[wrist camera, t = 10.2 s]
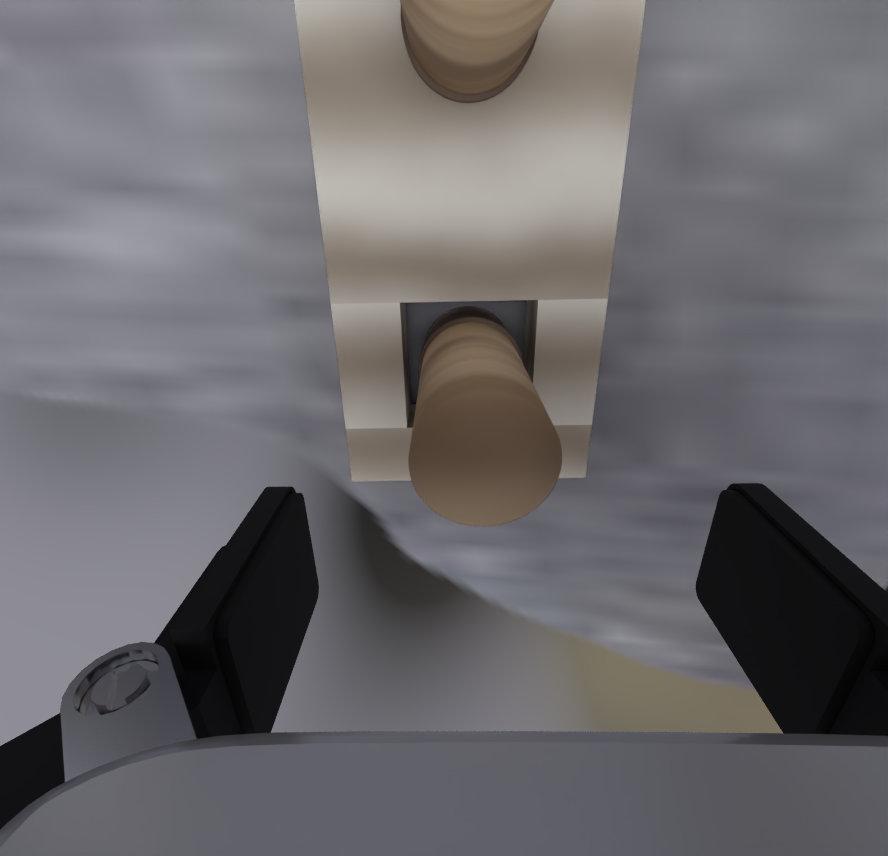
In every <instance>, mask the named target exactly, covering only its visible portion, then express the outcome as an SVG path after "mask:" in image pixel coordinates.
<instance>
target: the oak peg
mask: <svg viewBox="0 0 888 856" xmlns="http://www.w3.org/2000/svg"><path fill="white" fill-rule="evenodd" d="M418 373H419V380H420V382H419V389H418V396H417V403H416V409H415V416H414V423H413V429H412V436H411V443H410V450H409V456H408V466H409V474H410V477H411V481H412V483H413V485H414V488H415V490H416V491H417V493H418V495H419V496H420V498H421V499H422V500H423V501H424V502H425V503H426V504H427V505H428V506H429V507H430V508H431V509H432V510H433V511H435V512H436V513H438V514H439V515H441V516H443V517H445V518H447V519H449V520H451V521H454V522H457V523H460V524H464V525H470V526H495V525H501V524H505V523H508V522H512V521H514V520H517V519H519V518H521V517H523V516H525V515H527V514H529V513H530V512H531V511H533V510H534V509H536V508H537V507H538V506H539V505H540V504H541V503H542V502H543V501H544V500H545V499H546V498H547V497H548V496H549V494H550V493H551V491H552V490H553V488H554V486H555V484H556V482H557V480H558V478H559V474H560V471H561V466H562V448H561V443H560V439H559V436H558V434H557V432H556V430H555V427H554V425H553V423H552V421H551V419H550V417H549V415H548V413H547V411H546V409H545V407H544V405H543V403H542V401H541V399H540V397H539V395H538V393H537V391H536V389H535V387H534V385H533V383H532V381H531V379H530V377H529V375H528V373H527V371H526V369H525V367H524V365H523V360H522V355H521V352H520V349H519V347H518V345H517V343H516V341H515V340H514V338H513V336H512V335H511V334H510V333H509V332H508V330H506V329H505V327H504V325H503V324H502V322H501V321H500V320H499V319H498V318H497V317H496V316H495V315H493V314H492V313H490V312H489V311H487V310H485V309H482V308H479V307H473V306H464V307H458V308H455V309H452V310H450V311H448V312H446V313H444V314H443V315H441V316H440V317H439V318H438V319H437V320H436V321H435V322H434V324H433V325H432V326H431V328H430V330H429V332H428V334H427V338H426V342H425V344H424V346H423V348H422V351H421V355H420V360H419V371H418Z"/></svg>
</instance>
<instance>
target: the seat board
mask: <svg viewBox="0 0 888 856" xmlns="http://www.w3.org/2000/svg"><path fill="white" fill-rule="evenodd" d="M645 1H646V0H294V3H295V11H296V19H297V28H298V36H299V44H300V53H301V61H302V69H303V78H304V86H305V94H306V103H307V111H308V119H309V128H310V136H311V144H312V152H313V161H314V169H315V177H316V186H317V194H318V202H319V211H320V219H321V227H322V236H323V244H324V252H325V260H326V269H327V277H328V285H329V294H330V302H331V310H332V319H333V327H334V335H335V344H336V352H337V360H338V369H339V377H340V385H341V393H342V402H343V410H344V418H345V427H346V435H347V443H348V452H349V460H350V468H351V477H352V481H411V477H410V474H409V466H408V456H409V450H410V443H411V436H412V429H413V423H414V416H415V409H416V404H412V405H411V393H410V375H409V356H408V337H407V318H406V303H408V302H459V301H510V300H527V303H526V322H525V340H524V358H523V365H524V367H525V369H526V371H527V373H528V375H529V377H530V379H531V381H532V383H533V385H534V387H535V389H536V391H537V393H538V395H539V397H540V399H541V401H542V403H543V405H544V407H545V409H546V411H547V413H548V415H549V417H550V419H551V421H552V423H553V425H554V427H555V430H556V432H557V434H558V436H559V439H560V443H561V448H562V466H561V471H560V474H559V478H585V476H586V468H587V460H588V452H589V444H590V436H591V428H592V420H593V412H594V405H595V397H596V389H597V381H598V373H599V365H600V357H601V349H602V341H603V333H604V325H605V317H606V310H607V302H608V294H609V286H610V278H611V270H612V262H613V254H614V246H615V238H616V230H617V223H618V215H619V207H620V199H621V191H622V183H623V175H624V167H625V159H626V151H627V143H628V136H629V128H630V120H631V112H632V104H633V96H634V88H635V80H636V72H637V64H638V56H639V49H640V41H641V33H642V25H643V17H644V9H645Z"/></svg>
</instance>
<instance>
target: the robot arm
mask: <svg viewBox="0 0 888 856" xmlns="http://www.w3.org/2000/svg"><path fill="white" fill-rule="evenodd" d="M318 590H319V585H318V578H317V573H316V566H315V560H314V554H313V549H312V543H311V537H310V531H309V525H308V519H307V513H306V508H305V502H304V497H303V495H302V493H296V492H295V489H294V488H293V487H266V488H265V489H264V491H263V492H262V494H261V495H260V496H259V498H258V500H257V501H256V502H255V504H254V505H253V507H252V508H251V510H250V511H249V512H248V514H247V515H246V517H245V518H244V520H243V521H242V523H241V524H240V526H239V527H238V529H237V530H236V531H235V533H234V534H233V536H232V537H231V539H230V540H229V542H228V543H227V545H226V546H223V547H222V548H221V549H220V550H219V551H218V552H217V553H216V555H215V556H214V558H213V559H212V561H211V562H210V564H209V565H208V566H207V568H206V569H205V571H204V572H203V573H202V575H201V577H200V578H199V579H198V581H197V582H196V584H195V585H194V586H193V588H192V589H191V591H190V592H189V594H188V595H187V597H186V598H185V599H184V601H183V603H182V604H181V605H180V607H179V608H178V610H177V611H176V612H175V614H174V615H173V617H172V618H171V620H170V621H169V623H168V624H167V625H166V627H165V628H164V630H163V631H162V633H161V634H160V636H159V637H158V638H157V640H156V641H155V643H147V642H140V643H135V644H129V645H125V646H123V647H120V648H118V649H115V650H112V651H110V652H109V653H107V654H105V655H103V656H101V657H100V658H98V659H96V660H95V661H93V662H92V663H91V664H90V665H88V666H87V667H86V668H84V669H83V670H82V671H81V672H80V673H79V674H78V675H77V676H76V678H75V679H74V680H73V681H72V682H71V683H70V684H69V686H68V688H67V690H66V692H65V693H64V695H63V697H62V702H61V708H60V713H59V714H57V715H56V716H54V717H52V718H51V719H49V720H47V721H45V722H43V723H42V724H39V725H38V726H36V727H34V728H32V729H30V730H29V731H27V732H25V733H23V734H22V735H20V736H18V737H16V738H14V739H12V740H11V741H9V742H7V743H5V744H3V745H2V746H0V856H888V593H887V592H886V591H885V590H884V589H882V588H881V587H880V586H879V585H878V584H877V583H876V582H874V581H873V580H872V579H871V578H870V577H869V576H868V575H866V574H865V573H864V572H863V571H862V570H861V569H860V568H858V567H857V566H856V565H855V564H854V563H853V562H852V561H850V560H849V559H848V558H847V557H846V556H845V555H844V554H843V553H841V552H840V551H839V550H838V549H837V548H836V547H835V546H833V545H832V544H831V543H830V542H829V541H828V540H827V539H825V538H824V537H823V536H822V535H821V534H820V533H819V532H817V531H816V530H815V529H814V528H813V527H812V526H811V525H809V524H808V523H807V522H806V521H805V520H804V519H803V518H801V517H800V516H799V515H798V514H797V513H796V512H795V511H793V510H792V509H791V508H790V507H789V506H788V505H787V504H785V503H784V502H783V501H782V500H781V499H780V498H779V497H777V496H776V495H775V494H774V493H773V492H772V491H771V490H769V489H768V488H767V487H766V486H764V485H763V484H759V483H739V484H731V485H730V486H729V487H728V488H727V490H724V491H722V492H721V493H720V495H719V499H718V502H717V506H716V510H715V514H714V517H713V521H712V525H711V529H710V532H709V536H708V540H707V544H706V547H705V551H704V555H703V559H702V562H701V566H700V570H699V574H698V577H697V581H696V593H697V596H698V599H699V601H700V602H701V604H702V606H703V607H704V609H705V610H706V612H707V613H708V615H709V617H710V618H711V620H712V621H713V623H714V625H715V626H716V628H717V629H718V631H719V632H720V634H721V636H722V637H723V639H724V640H725V642H726V643H727V645H728V647H729V648H730V650H731V651H732V653H733V654H734V656H735V658H736V659H737V661H738V662H739V664H740V666H741V667H742V669H743V670H744V672H745V673H746V675H747V677H748V678H749V680H750V681H751V683H752V684H753V686H754V688H755V689H756V691H757V692H758V694H759V695H760V697H761V699H762V700H763V702H764V703H765V705H766V707H767V708H768V709H769V711H770V713H771V714H772V716H773V718H774V719H775V721H776V722H777V724H778V725H779V727H780V729H781V730H782V731H783V733H784V734H776V733H775V734H774V733H692V732H691V733H689V732H550V731H549V732H547V731H546V732H544V731H540V732H539V731H341V732H284V733H271V730H272V727H273V724H274V722H275V719H276V716H277V713H278V710H279V707H280V705H281V702H282V699H283V696H284V693H285V690H286V687H287V685H288V682H289V679H290V676H291V673H292V670H293V668H294V665H295V662H296V659H297V656H298V653H299V650H300V648H301V645H302V642H303V639H304V636H305V633H306V631H307V628H308V625H309V622H310V619H311V616H312V614H313V611H314V608H315V605H316V602H317V598H318V592H319V591H318Z"/></svg>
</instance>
